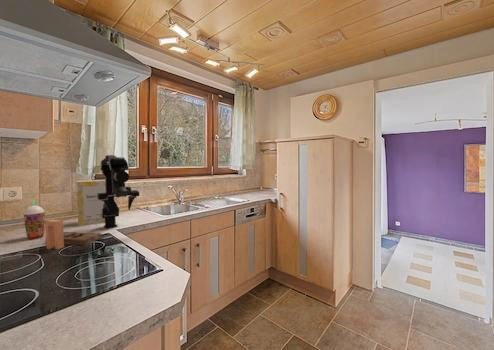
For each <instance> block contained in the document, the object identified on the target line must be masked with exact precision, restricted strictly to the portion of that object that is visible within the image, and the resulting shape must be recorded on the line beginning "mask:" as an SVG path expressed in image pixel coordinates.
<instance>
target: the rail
mask: <svg viewBox="0 0 494 350" xmlns="http://www.w3.org/2000/svg"><path fill="white" fill-rule="evenodd" d="M63 236H64V245H77V246H78V245H79V246H86V245H88V244H91V243H93V242H96V241H98V240H100V239H102V233H99V232H97V233H96V232H77V231H76V232H75V231H74V232H72V231H63Z"/></svg>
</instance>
